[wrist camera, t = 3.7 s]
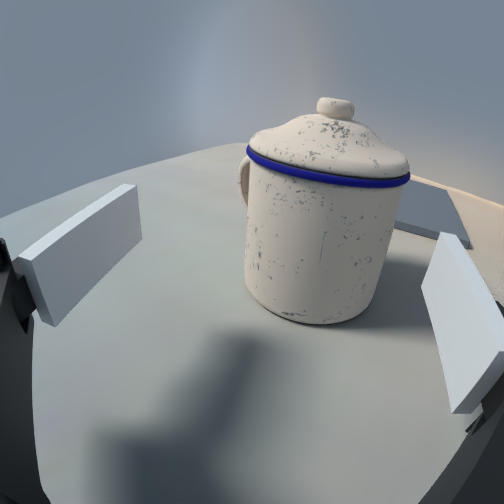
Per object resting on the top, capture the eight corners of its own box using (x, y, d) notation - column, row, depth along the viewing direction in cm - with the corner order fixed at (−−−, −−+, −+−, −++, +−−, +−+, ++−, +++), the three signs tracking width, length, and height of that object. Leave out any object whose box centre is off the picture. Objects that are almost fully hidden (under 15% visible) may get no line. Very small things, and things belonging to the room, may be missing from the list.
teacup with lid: (398, 289, 21) (442, 122, 15) (315, 356, 16) (366, 112, 10) (280, 223, 29) (292, 89, 23) (190, 254, 23) (187, 88, 17)
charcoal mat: (445, 195, 41) (446, 190, 41) (467, 248, 27) (469, 241, 26) (319, 163, 48) (320, 158, 47) (282, 200, 33) (282, 193, 33)
